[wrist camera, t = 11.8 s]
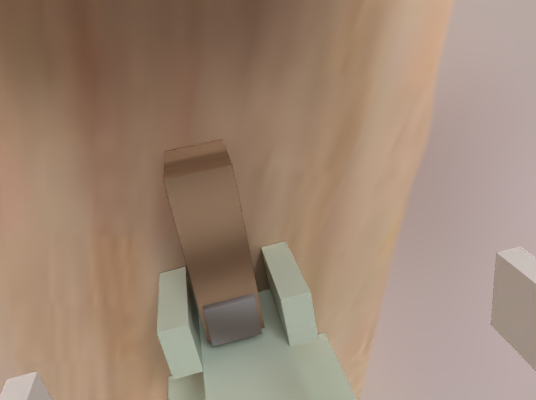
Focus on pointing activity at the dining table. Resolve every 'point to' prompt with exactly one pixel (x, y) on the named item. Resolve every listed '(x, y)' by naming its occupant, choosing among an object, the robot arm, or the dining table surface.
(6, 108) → the dining table surface
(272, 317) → the pale green block
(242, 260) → the brown boxy piece
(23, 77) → the dining table surface
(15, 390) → the robot arm
